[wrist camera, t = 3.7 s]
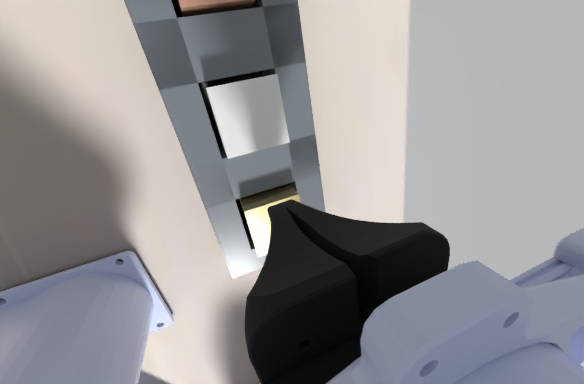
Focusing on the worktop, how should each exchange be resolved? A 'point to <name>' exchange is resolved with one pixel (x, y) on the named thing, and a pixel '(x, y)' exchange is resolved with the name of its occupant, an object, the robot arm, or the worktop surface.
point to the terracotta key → (212, 6)
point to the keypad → (194, 118)
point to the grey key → (249, 115)
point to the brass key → (264, 213)
